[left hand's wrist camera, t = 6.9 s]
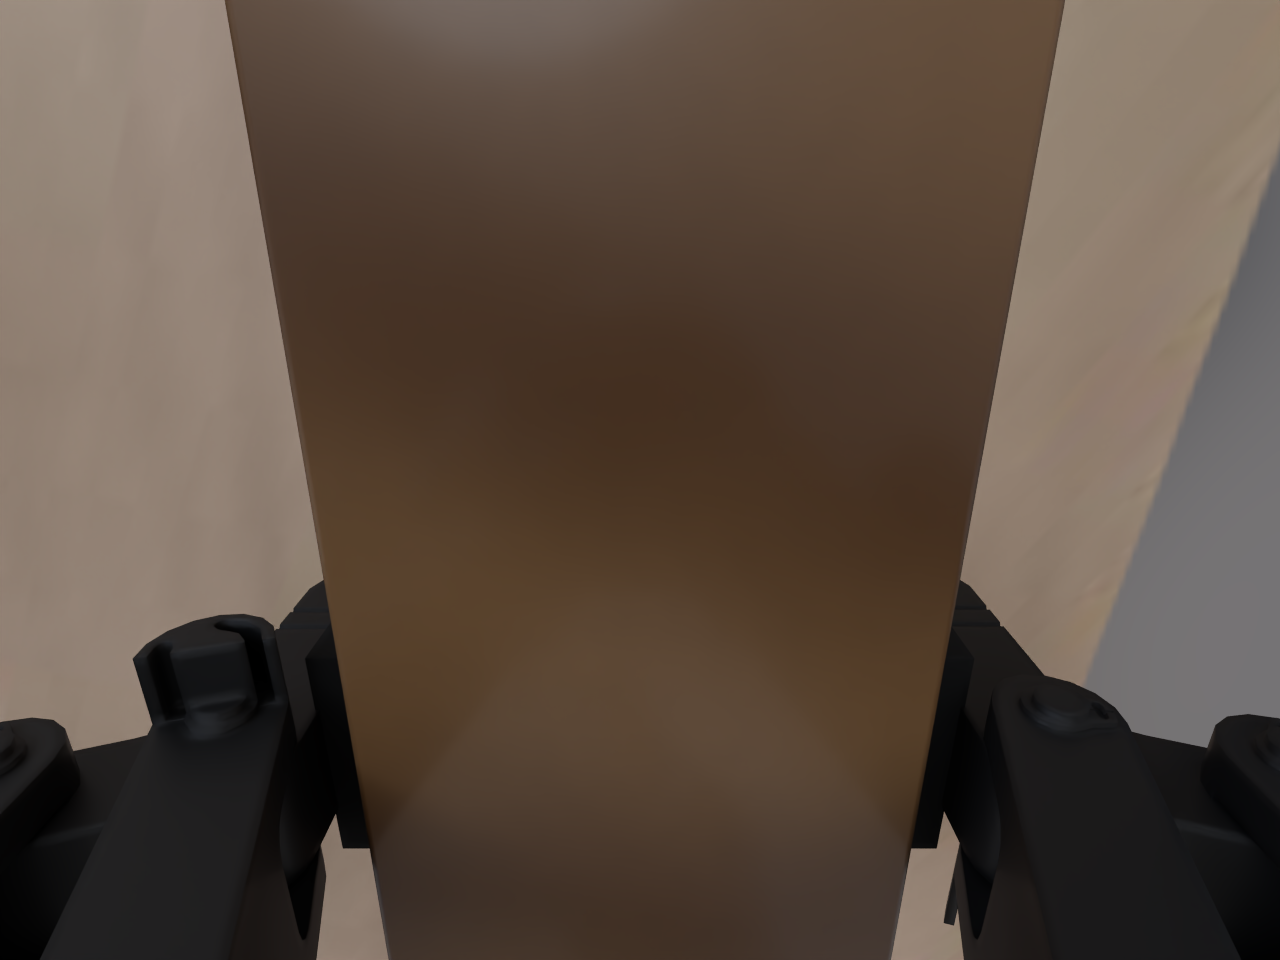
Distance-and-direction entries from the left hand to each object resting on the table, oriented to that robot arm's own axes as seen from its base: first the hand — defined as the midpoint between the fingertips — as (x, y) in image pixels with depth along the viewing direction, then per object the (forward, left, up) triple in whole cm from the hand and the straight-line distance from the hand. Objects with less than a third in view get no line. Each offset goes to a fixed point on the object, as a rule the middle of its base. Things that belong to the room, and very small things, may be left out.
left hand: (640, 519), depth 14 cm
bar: (+33, +15, -1) cm, 36 cm away
